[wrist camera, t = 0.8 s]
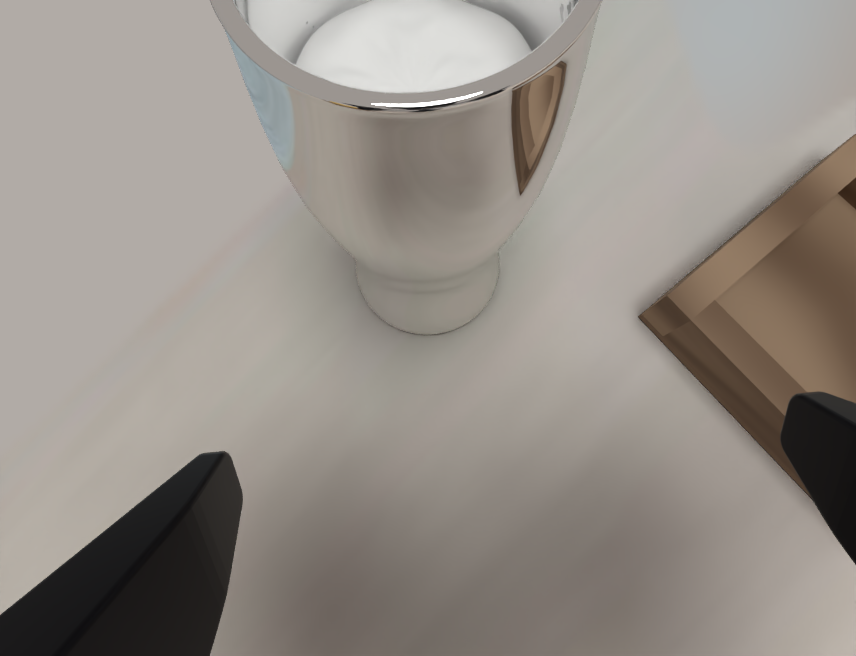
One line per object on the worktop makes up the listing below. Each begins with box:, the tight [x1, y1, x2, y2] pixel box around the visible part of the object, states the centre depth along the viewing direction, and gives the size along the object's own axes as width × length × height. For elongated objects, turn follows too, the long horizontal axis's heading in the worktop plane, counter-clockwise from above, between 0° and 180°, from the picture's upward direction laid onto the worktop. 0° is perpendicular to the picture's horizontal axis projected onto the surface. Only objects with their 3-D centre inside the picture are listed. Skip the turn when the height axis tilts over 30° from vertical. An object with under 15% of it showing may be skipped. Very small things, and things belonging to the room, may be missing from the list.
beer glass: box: [210, 0, 603, 335], centre depth 16 cm, size 7×7×15 cm
